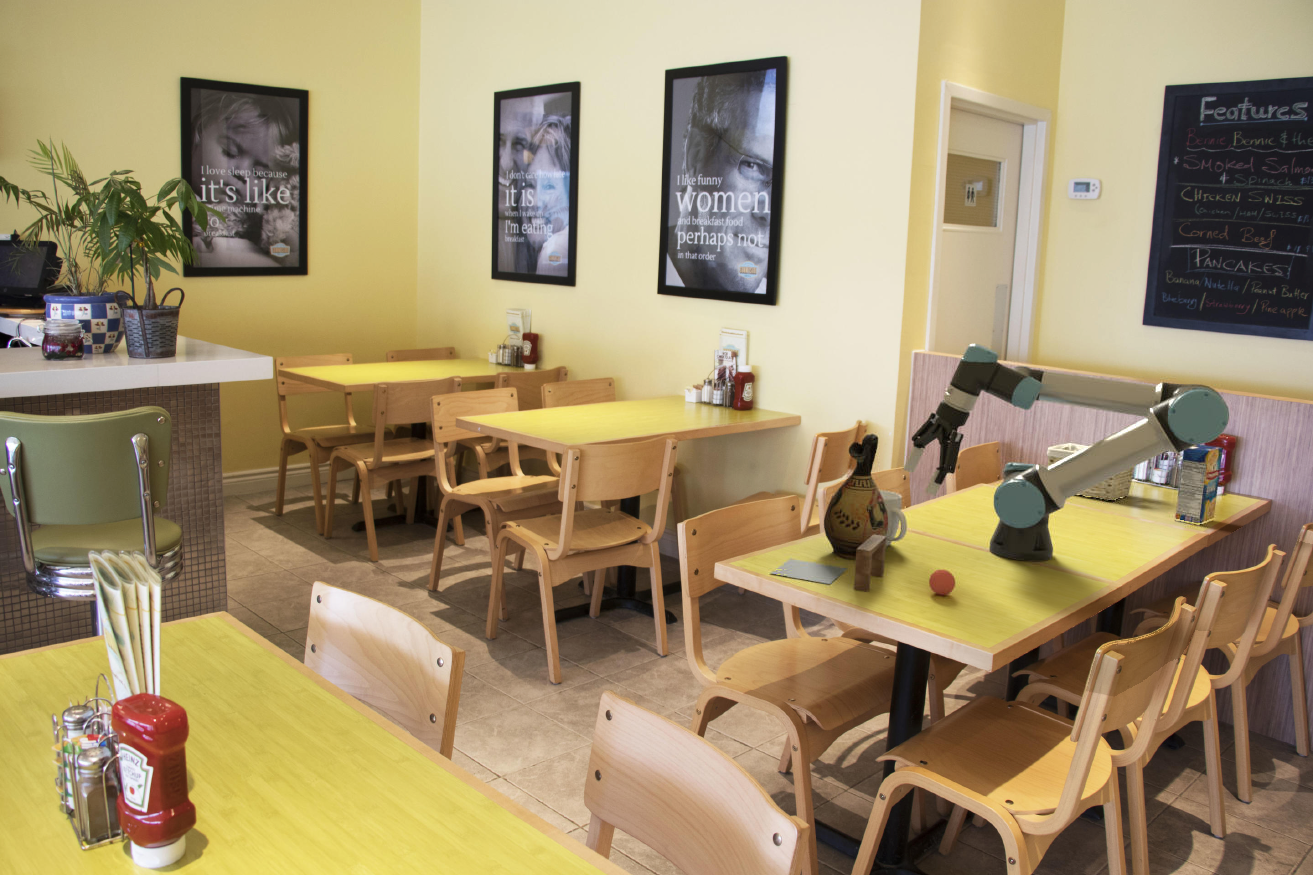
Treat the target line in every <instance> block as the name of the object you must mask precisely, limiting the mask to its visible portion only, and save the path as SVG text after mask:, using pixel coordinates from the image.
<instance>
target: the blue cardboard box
mask: <svg viewBox="0 0 1313 875" xmlns="http://www.w3.org/2000/svg"><path fill="white" fill-rule="evenodd" d="M1223 451H1224V447H1219V446H1212V445H1211V446H1210V445H1205V444H1197V445H1194V446H1192V447H1190V448H1188V449H1186V450H1184V451H1182V452H1183V454H1182V460H1181V470H1180V476H1179V483H1178V484H1179V486H1178V491H1177V492H1178V493H1177V500H1176V507H1175V508H1176V509H1175V514H1174V515H1175V516H1174V519H1175V518H1176V519H1180V520H1184V521H1189V522H1194V523H1202V522H1204V521H1207V520H1209V519H1212V518H1214V519H1215V513H1216V512H1215V510H1216V504H1217V496H1218V489H1219V488H1218V487H1219V481H1220V473H1221V466H1222V458H1223Z"/></svg>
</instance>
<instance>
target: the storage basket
mask: <svg viewBox="0 0 1313 875" xmlns="http://www.w3.org/2000/svg"><path fill="white" fill-rule="evenodd" d="M1088 446H1089V445H1082V444H1077V443H1074V442H1073V443H1072V442H1068V443H1062V444H1057V445H1054V446H1049V447H1048V448H1047V452H1046V455H1047V457H1048V458H1047V460H1048V461H1047V466H1050V465H1052V464H1054V463H1056V462H1058V461H1060V460H1062V459H1064V458H1066V457H1068V456H1070V455H1072V454H1074V453H1076V452H1078V451H1080V450H1082V449H1084V448H1086V447H1088ZM1135 467H1136V466H1134V467H1132V468H1130V469H1128V470H1126V471H1124V472H1122V473H1119V474H1117V475H1115V476H1113V477H1111V478H1109V479H1107V480H1105V481H1103V482H1101V483H1099V484H1096V485H1094V486H1092V487H1090V488H1088V489H1086V490H1084V491H1082V492H1080V493H1078V494H1080V495H1085V496H1091V497H1098V498H1102V499H1107V500H1106V501H1108V500H1115V499H1118V498H1120V497H1125V496H1127V497H1128V496H1129V495H1130V490H1131V485H1132V479H1133V474H1134V470H1135ZM1125 498H1126V497H1125ZM1102 499H1101V500H1102ZM1118 500H1119V499H1118ZM1115 501H1116V500H1115Z"/></svg>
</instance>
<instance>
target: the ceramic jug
mask: <svg viewBox="0 0 1313 875" xmlns="http://www.w3.org/2000/svg"><path fill="white" fill-rule="evenodd" d="M878 445H879V437H878V436H877V435H876V434H874V433H871V434H866V435H865V436H864V437H863V438H862V441H861V444H860V443H859V442H857V441H856V442H855V441H854V442H853V443H851V444H850V446H849V448H848V454H849V455H850V457H852V458H853V459H854V460H855V461H856V466H855V467H854V469H853V472H852V473H851V474H850V476H848V477H847V478H846V479H845V481H844V482H843V483H842V485H840V487H839V488H838V489H837V490H836V491H835V493H834V495H833V496H832V498H831V499H830V500H829V503H828V506H827V507H826V508H827V509H826V511H825V514H824V517H823V518H824V519H823V529H824V533H825V537H826V538H827V540H828V541H829V543H830V545H831V548H832V552H831V553H832V554H833V555H835V556H836V555H837V556H836V557H838V556H839V557H838V558H841V557H842V558H841V559H850V560H856V551H857V548H858V547H859V546H861V545H862V544H863V543H864V542H865V541H866V540H868V539H869V538H870V537H871V536H872V535H873V534H874V535H881V536H886V534H887V530H888V513H887V509H886V505H885V502H884V500H883V498H882V496H881V494H880V492H879V490H880V489H879V487H878V486H877V483H876V482H875V480H874V479H873V477H872V470H873V465H874V462H875V459H876V454H877V450H878Z"/></svg>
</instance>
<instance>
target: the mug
mask: <svg viewBox="0 0 1313 875" xmlns="http://www.w3.org/2000/svg"><path fill="white" fill-rule="evenodd" d="M879 492H880V494H881V496H882V498H883V500H884V502H885V505H886V509H887V513H888V530H887V534H886V547H888V546H890V545H891V544H892V542H899V541H901V540H903V539H904V538H905V536H906V534H907V529H908V524H907V522H908V521H907V518H906V516H905V513H904V512H903V511H902V498H903V497H902V495H901V494H900V493H897V492H893V491H889V490H882V489H879ZM899 525H900V526H899ZM899 527H900V530H899V534H898V536H897V537H896V534H897V533H898V529H899Z"/></svg>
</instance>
